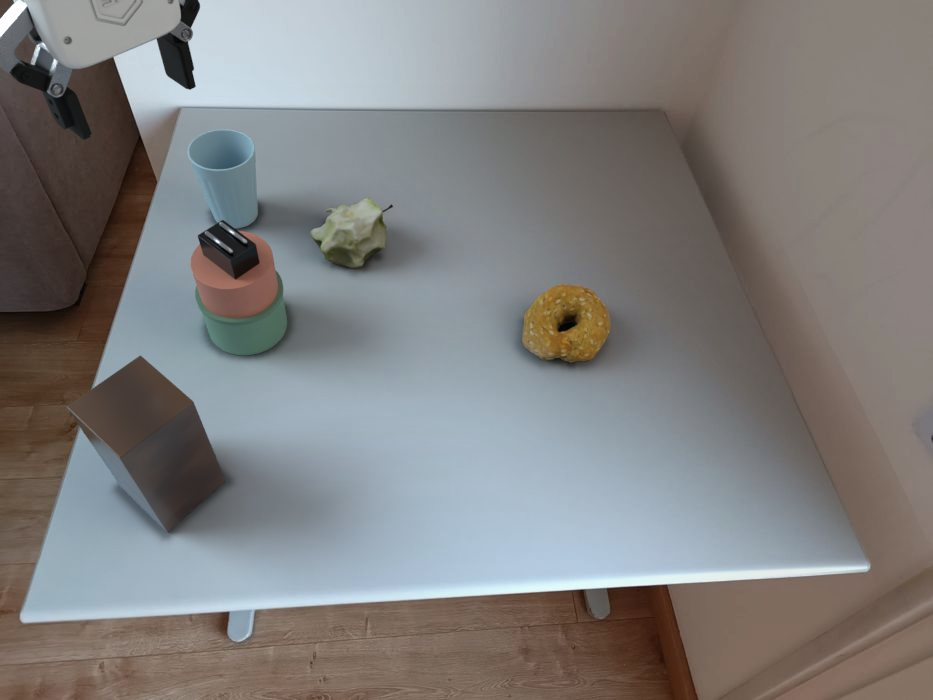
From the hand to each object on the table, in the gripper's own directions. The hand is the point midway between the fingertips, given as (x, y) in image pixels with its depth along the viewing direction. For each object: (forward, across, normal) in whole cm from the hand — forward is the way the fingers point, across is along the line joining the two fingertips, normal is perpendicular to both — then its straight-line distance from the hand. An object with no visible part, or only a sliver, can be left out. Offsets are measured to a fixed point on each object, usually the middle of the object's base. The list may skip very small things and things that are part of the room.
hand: (131, 105), depth 58 cm
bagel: (+30, +28, -31) cm, 51 cm away
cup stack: (+29, +4, -3) cm, 30 cm away
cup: (+29, +14, +12) cm, 35 cm away
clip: (+18, +4, -3) cm, 19 cm away
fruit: (+29, +21, -3) cm, 36 cm away
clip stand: (+30, -14, -13) cm, 35 cm away
